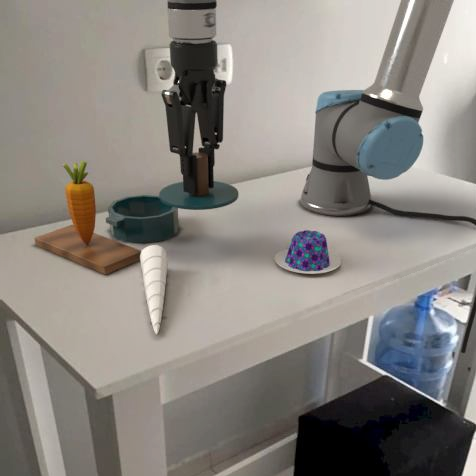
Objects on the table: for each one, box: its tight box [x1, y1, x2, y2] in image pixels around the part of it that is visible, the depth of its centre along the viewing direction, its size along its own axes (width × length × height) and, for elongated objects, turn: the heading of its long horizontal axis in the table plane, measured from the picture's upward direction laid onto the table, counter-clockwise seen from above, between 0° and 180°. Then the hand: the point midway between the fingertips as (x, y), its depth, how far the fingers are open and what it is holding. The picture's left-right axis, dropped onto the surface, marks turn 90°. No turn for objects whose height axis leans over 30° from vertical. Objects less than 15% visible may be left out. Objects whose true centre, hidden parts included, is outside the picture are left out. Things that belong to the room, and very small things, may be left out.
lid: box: [158, 152, 240, 211], centre depth 112 cm, size 14×14×7 cm
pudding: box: [274, 229, 342, 275], centre depth 113 cm, size 12×12×5 cm
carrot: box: [62, 160, 97, 245], centre depth 113 cm, size 5×5×15 cm
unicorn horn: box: [139, 244, 169, 335], centre depth 101 cm, size 5×24×5 cm, turn 3°
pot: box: [105, 194, 180, 244], centre depth 126 cm, size 13×17×5 cm
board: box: [33, 224, 142, 276], centre depth 117 cm, size 20×9×2 cm, turn 51°
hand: (198, 189), depth 113 cm, fingers closed on lid, 4 cm apart
